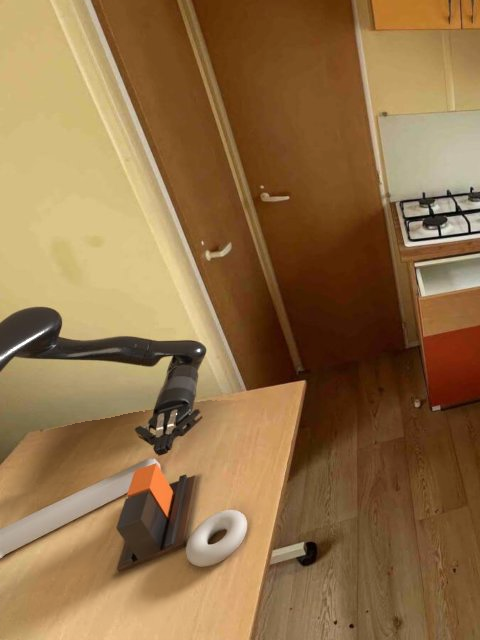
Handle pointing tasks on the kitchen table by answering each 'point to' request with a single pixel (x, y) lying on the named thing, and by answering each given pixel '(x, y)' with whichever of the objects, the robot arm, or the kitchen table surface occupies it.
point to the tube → (67, 509)
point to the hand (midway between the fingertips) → (161, 452)
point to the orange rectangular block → (153, 487)
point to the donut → (212, 554)
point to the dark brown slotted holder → (154, 525)
